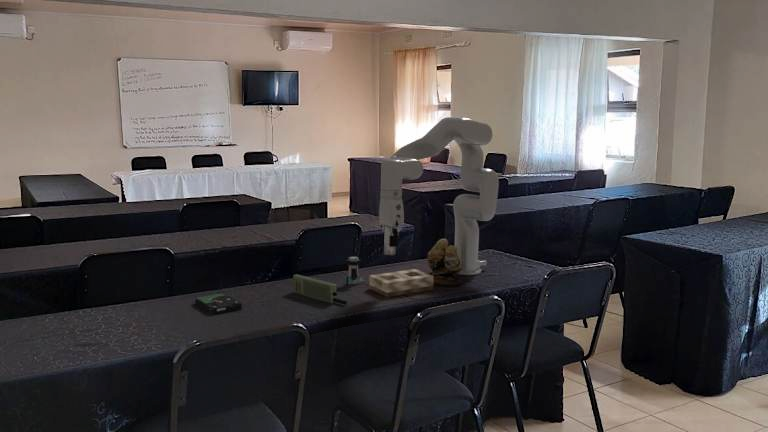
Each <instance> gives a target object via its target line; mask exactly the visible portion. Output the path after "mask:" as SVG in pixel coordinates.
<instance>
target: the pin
mask: <svg viewBox="0 0 768 432" xmlns="http://www.w3.org/2000/svg"><path fill="white" fill-rule="evenodd" d="M394 227H396V225H395V226H394ZM395 229H396V228H393V231H394V230H395ZM390 236H391V232H390V227H388V226H385V231H384V244H383V245H384V246H383V254H384V255H387V256H395V255H396V246H395V247H390V246H389V238H390Z"/></svg>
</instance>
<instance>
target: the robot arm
mask: <svg viewBox="0 0 768 432" xmlns="http://www.w3.org/2000/svg"><path fill="white" fill-rule="evenodd" d="M492 139H493V129H492V128H491V126H490V125H489V124H488V123H485V122H482V121H478V120H474V119H471V118H467V117H457V116H456V117H452V116H450V117H449V116H448V117H447V116H446V117H444V118H442V119H440V121H438V122H437V123H436V124H435V125H434V126H433V127H432V128H431V129H430V130H429V131H428V132H426V134H425V135H423V136H422V137H420V138H418V139H416V140H414V141H411V142H410V143H408V144H405V145H403V146H402V147H401V148H398V149H397V150H396V151H395V152H394V153H393V154H392V156H390V158H386V159H383V160H382V161H381V163H380V164H381V165H380V172H381V173H380V200H379V209H378V210H379V211H378V224H379V225H380V228H381V233H382V235H381V236H382V238H381V239H382V240H381V241H382V242H381V244H382V245H384V231H385V226H388V227H390V232H391V236H390V238H389V246H390V247H395V248H396V247H398V246H399V245H398V243H399V241H398V240H399V235H400V232H401V231H402V230H403V227H404V223H405V213H404V203H403V201H404V200H403V197H402V196H403V180H411V181H412V180H417V179H419V178H420V177H421V176H422V175H423V173H424V165H423V163H422V161H421V160H424V159H428V158H432V157H435V156H438V155H439V154H440V153H441V152H442V151H443V150H444V149H445V148H446V147H447V146H448V145H449V144H450V143H451V142H453V141H455V142H456V144H457V146H458V147H459V149H460V152H461V165H460V166H461V168H460V176H459V186H460V187H461V188H462V189H463V190H465V191H469V192H475V193H479V195H477V194H470V193H463V194H459V195H458V196H456V197H455V199H454V201H453V204H452V207H453V208H452V209H453V215H454V223H455V224H454V246H455V247H457V255H458V256H459V258H460V265H459V267H462V270H461V271H459V273H457V274H456V275H461V276H476V275H480V274H481V273H482V269H481V266H487V264H488V263H487V262H488V261H487V260H479V243H480V242H479V241H480V240H479V239H480V236H479V235H480V228H479V224H478V222H477V221H482V222H483V221H484V222H488V221H491V220H492V219H493V218H494V216H495V215H496V209H497V204H498V203H497V202H498V197H499V196H498V195H499V183H500V181H499V176H498V174H497V172H496V171H495V170H494V169H490V168H484V158H485V157H484V152H483V148H482V146H486V145H488V144H490V142H491V141H492ZM394 226H396V227H394ZM393 228H396V229H395V230H394V231H393Z"/></svg>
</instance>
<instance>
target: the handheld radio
mask: <svg viewBox="0 0 768 432" xmlns="http://www.w3.org/2000/svg"><path fill="white" fill-rule="evenodd" d="M292 280H293V281H292V283H293V293H294V294H298V295H300V296H305V297H308V298H312V299H315V300H318V301H319V300H320V301H323V302H326V303H330V304H333V303H334V302H335V303H337V304H341V305H344V306H346V305H347V304H348V301H347V300H344V299H340V298H337V295H338V293H337V287H336V286H337V285H338V284H337V283H333V282H329V281H325V280H320V279H317V278H314V277H313V278H312V277H309V276H305V275H301V274H298V273H297V274H296V273H295V274H293V275H292Z"/></svg>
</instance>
